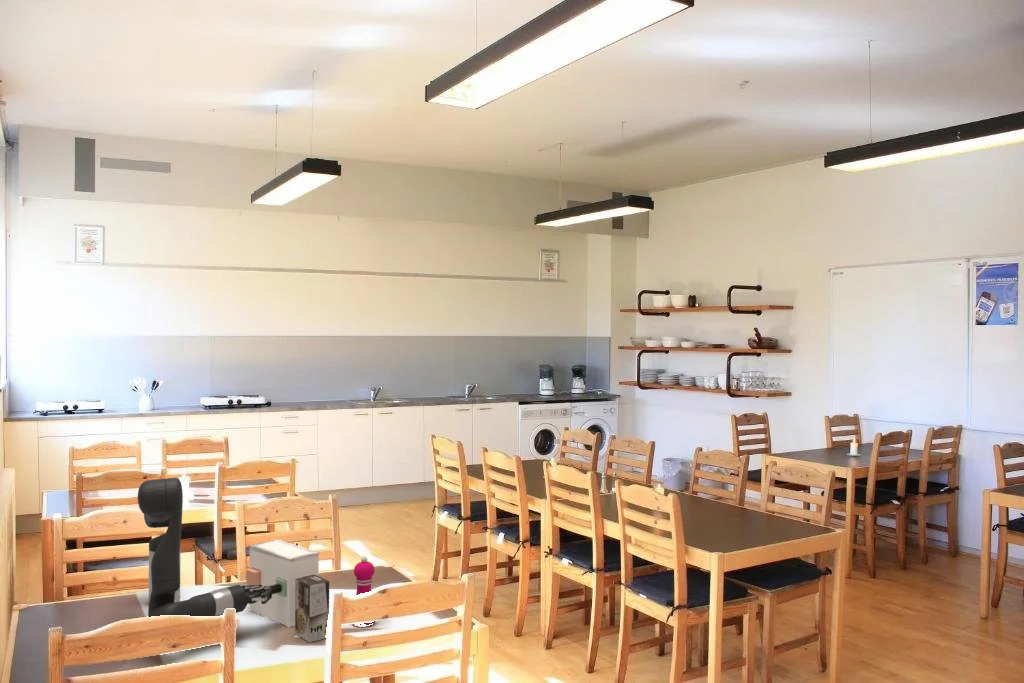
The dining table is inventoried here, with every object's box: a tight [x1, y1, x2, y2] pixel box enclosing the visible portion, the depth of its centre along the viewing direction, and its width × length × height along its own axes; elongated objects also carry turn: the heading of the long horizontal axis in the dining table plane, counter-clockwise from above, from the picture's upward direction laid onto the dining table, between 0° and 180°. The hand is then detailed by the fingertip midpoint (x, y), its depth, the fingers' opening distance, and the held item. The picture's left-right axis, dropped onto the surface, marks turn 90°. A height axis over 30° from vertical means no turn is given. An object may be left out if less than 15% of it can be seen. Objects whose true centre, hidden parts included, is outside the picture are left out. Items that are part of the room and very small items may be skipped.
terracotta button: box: [246, 568, 261, 585], centre depth 250 cm, size 4×4×4 cm
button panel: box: [248, 539, 320, 628], centre depth 249 cm, size 22×10×20 cm, turn 48°
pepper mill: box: [353, 556, 375, 625], centre depth 242 cm, size 7×7×20 cm
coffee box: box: [294, 574, 331, 643], centre depth 232 cm, size 9×6×16 cm
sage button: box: [276, 578, 287, 597], centre depth 242 cm, size 4×4×4 cm
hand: (280, 587), depth 240 cm, fingers closed
